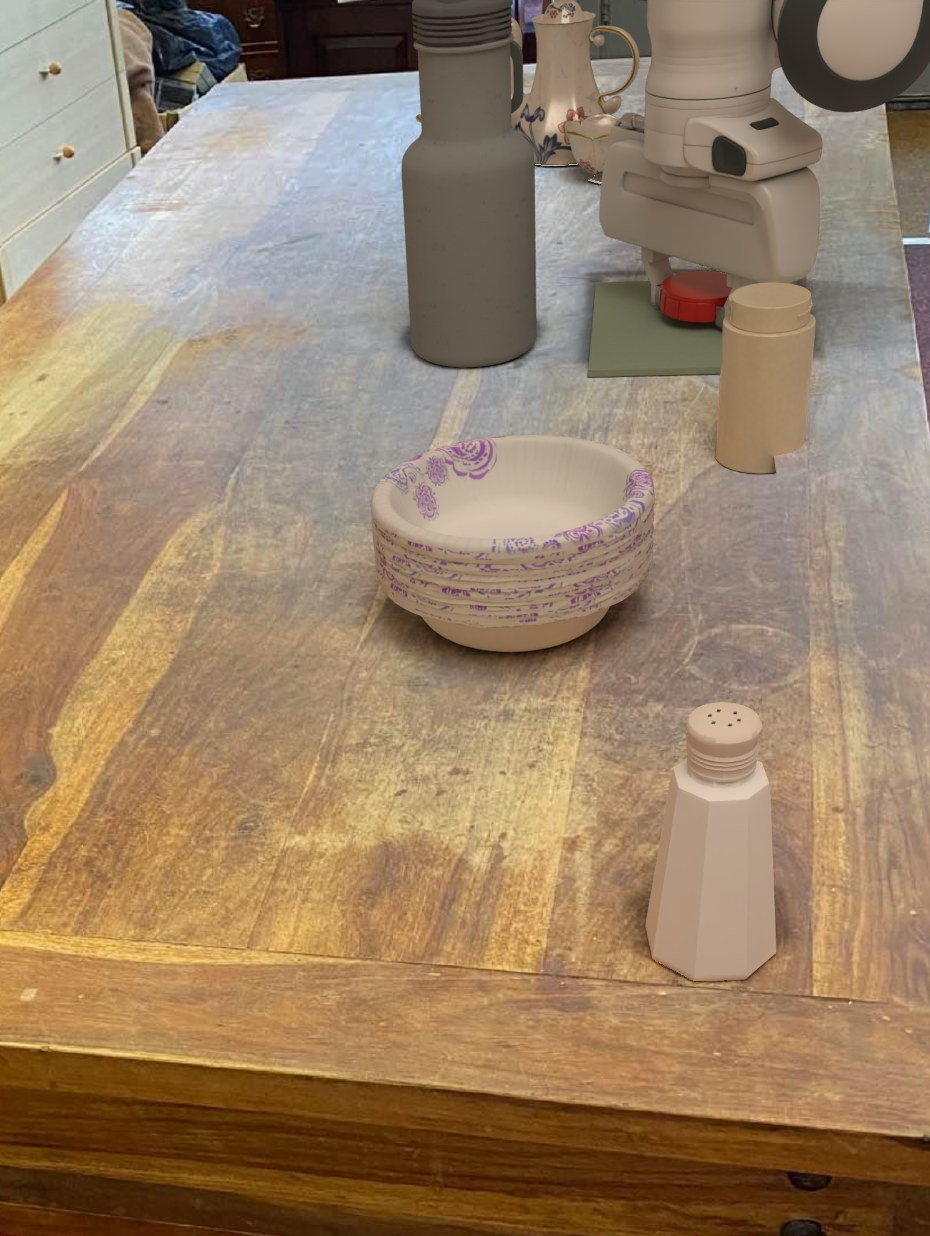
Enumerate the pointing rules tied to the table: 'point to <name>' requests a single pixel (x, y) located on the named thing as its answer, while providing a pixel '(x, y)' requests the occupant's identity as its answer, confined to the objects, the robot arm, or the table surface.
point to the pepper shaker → (715, 853)
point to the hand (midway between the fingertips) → (697, 316)
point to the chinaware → (568, 90)
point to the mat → (647, 336)
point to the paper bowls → (514, 538)
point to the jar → (764, 375)
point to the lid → (693, 295)
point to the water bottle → (469, 190)
